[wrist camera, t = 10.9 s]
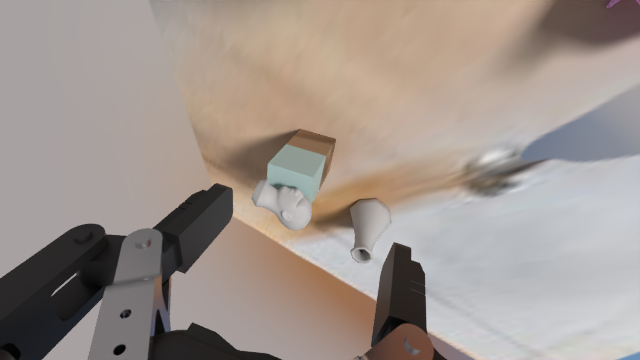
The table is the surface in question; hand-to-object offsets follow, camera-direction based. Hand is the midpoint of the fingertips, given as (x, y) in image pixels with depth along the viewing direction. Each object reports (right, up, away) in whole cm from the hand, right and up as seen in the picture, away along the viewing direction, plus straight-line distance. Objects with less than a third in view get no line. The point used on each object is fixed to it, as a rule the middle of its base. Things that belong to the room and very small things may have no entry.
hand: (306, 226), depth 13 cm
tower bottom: (0, +7, +33) cm, 34 cm away
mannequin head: (-3, 0, +23) cm, 24 cm away
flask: (+10, -4, +36) cm, 38 cm away
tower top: (-2, +4, +28) cm, 28 cm away
